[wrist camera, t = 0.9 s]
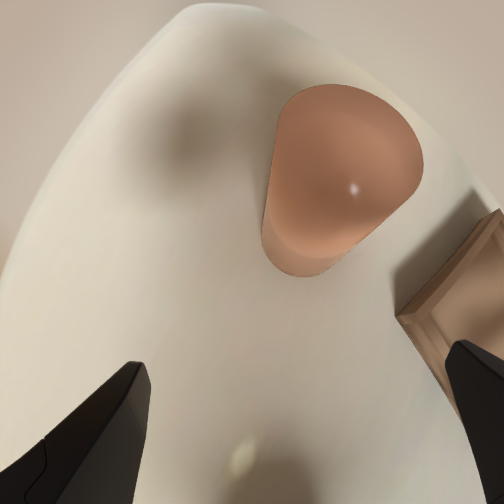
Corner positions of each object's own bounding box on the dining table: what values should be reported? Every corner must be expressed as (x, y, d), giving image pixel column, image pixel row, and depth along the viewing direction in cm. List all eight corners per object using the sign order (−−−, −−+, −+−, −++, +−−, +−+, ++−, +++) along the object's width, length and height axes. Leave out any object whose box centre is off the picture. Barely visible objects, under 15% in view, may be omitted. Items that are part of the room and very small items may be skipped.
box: (542, 339, 20) (561, 337, 17) (473, 444, 17) (493, 451, 15) (480, 219, 23) (499, 208, 20) (394, 316, 21) (414, 313, 18)
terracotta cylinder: (357, 245, 22) (446, 164, 10) (295, 294, 21) (354, 243, 9) (307, 185, 23) (351, 70, 12) (244, 227, 22) (244, 118, 11)
